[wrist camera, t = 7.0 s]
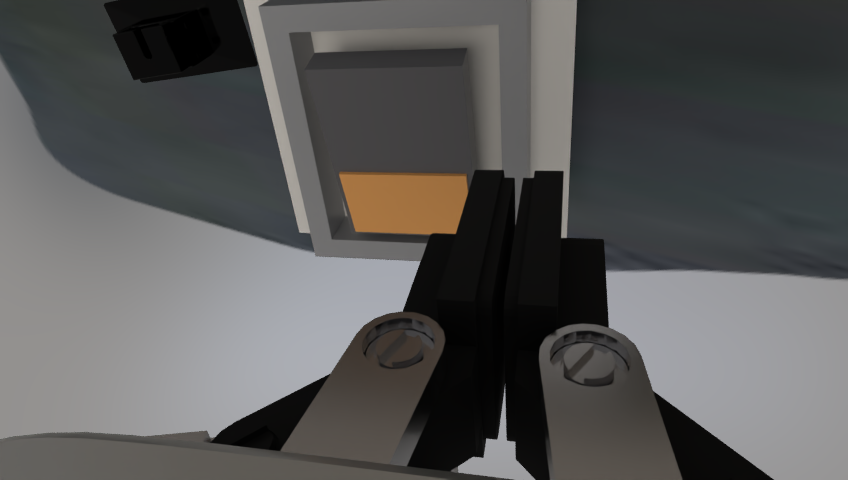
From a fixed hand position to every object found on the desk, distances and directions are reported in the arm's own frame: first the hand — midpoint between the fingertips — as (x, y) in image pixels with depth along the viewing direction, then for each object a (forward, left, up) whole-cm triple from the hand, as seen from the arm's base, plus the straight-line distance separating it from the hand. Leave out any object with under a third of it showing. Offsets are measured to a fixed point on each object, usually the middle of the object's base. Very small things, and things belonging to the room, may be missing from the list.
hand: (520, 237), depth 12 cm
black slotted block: (+24, +3, -28) cm, 37 cm away
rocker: (+7, +6, -17) cm, 19 cm away
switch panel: (+7, +6, -27) cm, 29 cm away
